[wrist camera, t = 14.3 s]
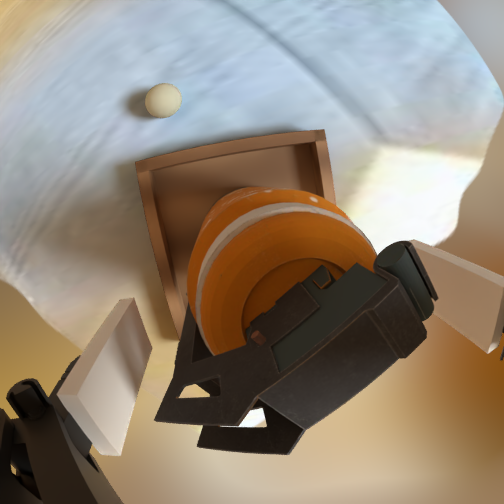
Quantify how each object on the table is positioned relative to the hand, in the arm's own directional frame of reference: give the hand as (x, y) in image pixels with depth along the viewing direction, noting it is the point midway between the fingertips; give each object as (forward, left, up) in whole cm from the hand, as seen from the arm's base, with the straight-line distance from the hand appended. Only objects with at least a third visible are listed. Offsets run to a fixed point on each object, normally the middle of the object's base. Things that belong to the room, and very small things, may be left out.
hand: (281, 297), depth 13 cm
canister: (0, -1, -14) cm, 14 cm away
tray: (0, 0, -14) cm, 14 cm away
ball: (-14, -5, -14) cm, 20 cm away
